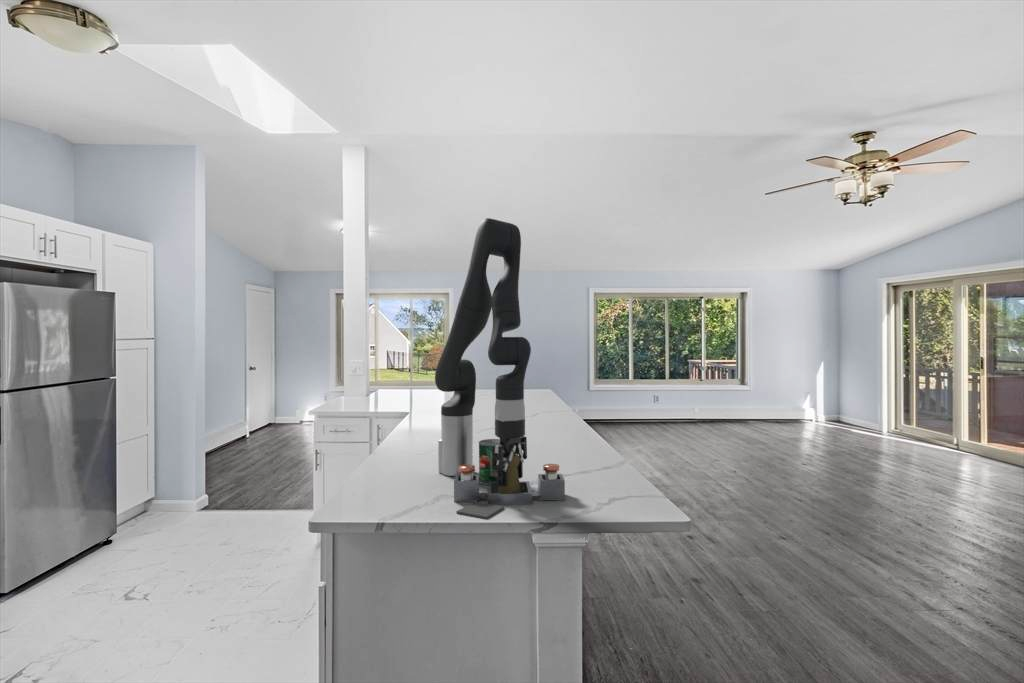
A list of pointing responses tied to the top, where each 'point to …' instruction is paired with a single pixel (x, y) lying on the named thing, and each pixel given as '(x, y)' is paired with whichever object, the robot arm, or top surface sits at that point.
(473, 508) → the pad
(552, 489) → the housing
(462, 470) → the plunger
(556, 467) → the plunger
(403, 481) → the top surface
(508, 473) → the cork
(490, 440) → the canned tomato
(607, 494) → the top surface
